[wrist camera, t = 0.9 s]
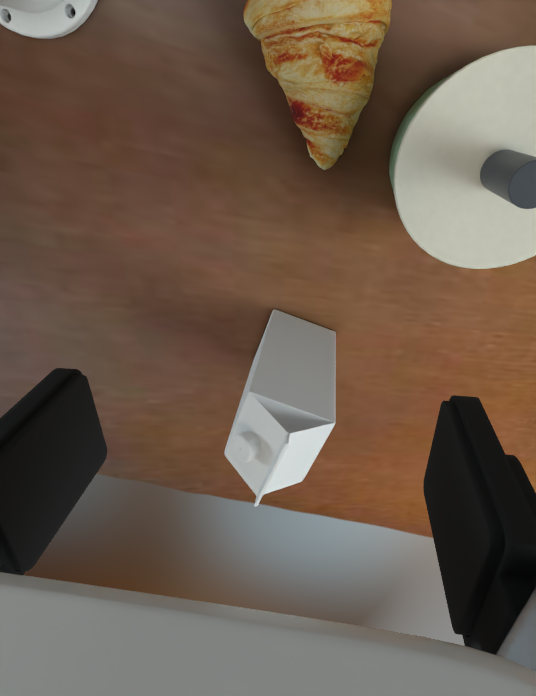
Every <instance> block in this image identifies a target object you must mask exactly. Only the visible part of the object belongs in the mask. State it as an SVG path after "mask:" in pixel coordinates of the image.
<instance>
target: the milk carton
mask: <svg viewBox="0 0 536 696" xmlns="http://www.w3.org/2000/svg"><path fill="white" fill-rule="evenodd" d="M335 400H336V332H335V331H332V330H329V329H326V328H324V327H321V326H318V325H316V324H313V323H310V322H308V321H305V320H302V319H300V318H297V317H294V316H292V315H289V314H286V313H283V312H281V311H278V310H275V309H273V311H272V314H271V316H270V319H269V321H268V324H267V326H266V329H265V332H264V334H263V337H262V339H261V342H260V345H259V347H258V350H257V352H256V355H255V358H254V361H253V364H252V367H251V370H250V373H249V376H248V379H247V382H246V386H245V389H244V392H243V395H242V398H241V401H240V404H239V407H238V410H237V414H236V417H235V420H234V423H233V426H232V429H231V432H230V435H229V438H228V442H227V445H226V448H225V456H226V457H227V459H228V460H229V461H230V463H231V464H232V465H233V466H234V468H235V469H236V470H237V471H238V473H239V474H240V475H241V477H242V478H243V479H244V480H245V482H246V483H247V484H248V485H249V487H250V488H251V489H252V491H253V492H254V493H255V494H256V501H255V505H254V506H255V507H257V506H258V504H259V502H260V500H261V498H262V496H263V495H264V494H267V493H270V492H272V491H275V490H278V489H281V488H284V487H287V486H290V485H293V484H296V483H299V482H302V481H303V479H304V478H305V476H306V474H307V472H308V471H309V469H310V467H311V465H312V464H313V462H314V460H315V458H316V457H317V455H318V453H319V451H320V450H321V448H322V446H323V444H324V443H325V441H326V439H327V437H328V436H329V434H330V432H331V430H332V429H333V427H334V425H335V423H336V422H335Z"/></svg>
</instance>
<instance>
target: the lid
mask: <svg viewBox="0 0 536 696" xmlns="http://www.w3.org/2000/svg"><path fill="white" fill-rule="evenodd" d="M394 196H395V202H396V207H397V210H398V213H399V216H400V218H401V220H402V222H403V225H404V227H405V229H406V230H407V232H408V233H409V234H410V236H411V237H412V239H413V240H414V241H415V242H416V243H417V244H418V245H419V246H420V247H421V248H422V249H423V250H424V251H426V252H427V253H428V254H430V255H431V256H433V257H435V258H437V259H438V260H440V261H443V262H445V263H448V264H451V265H455V266H459V267H464V268H472V269H488V268H496V267H502V266H506V265H511V264H514V263H517V262H520V261H523V260H526V259H528V258H530V257H533V256H535V255H536V45H532V46H519V47H514V48H509V49H505V50H501V51H498V52H495V53H492V54H489V55H487V56H484V57H481V58H479V59H478V60H476V61H474V62H472V63H470V64H468V65H466V66H465V67H463V68H462V69H460V70H458V71H457V72H455V73H454V74H453V75H451V76H450V77H449V78H448V79H447V80H445V81H444V82H443V83H442V84H441V85H439V86H438V87H437V89H436V90H435V91H434V92H433V93H432V94H431V95H430V96H429V97H428V98H427V99H426V101H425V102H424V103H423V104H422V106H421V107H420V108H419V110H418V111H417V113H416V114H415V116H414V117H413V119H412V121H411V122H410V124H409V126H408V128H407V130H406V132H405V134H404V137H403V139H402V142H401V145H400V148H399V151H398V154H397V159H396V163H395V170H394Z"/></svg>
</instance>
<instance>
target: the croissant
mask: <svg viewBox="0 0 536 696" xmlns="http://www.w3.org/2000/svg"><path fill="white" fill-rule="evenodd" d="M391 7H392V2H391V0H247V2H246V5H245V7H244V10H243V15H244V22H245V24H246V25H247V27H248V28H249V31H250V32H251V33H252V35H253V36H254V37H255V38H256V39H258V40H259V41H261V46H262V53H263V54H264V59H265V63H266V67H267V70H268V71H270V72H271V74H272V75H273V77H275V78H277V80H278V81H279V84H280V86H281V87H282V88H283V90H284V92H285V94H286V98H287V101H288V104H289V107H290V110H291V115H292V118H293V120H294V122H295V123H296V125H297V126H298V127H299V128H300V129H301V131H302V134H303V136H304V137H305V138H307V147H308V151H309V154H310V157H311V158H313V159H314V160H315V162H316V163H317V165H318V166H319V167H320V168H321V169H323V170H325V169H328V168H330V167H331V166H333V165H334V164H335V162H336V161H337V160H338V158H339V156H340V155H341V154H342V153H343V151H344V148H346V147H347V145H348V142H349V139H350V136H351V134H352V131H353V128H354V126H355V124H356V123H357V121H358V119H359V114H360V113H361V111H362V109H363V107H364V106H365V105H366V104H367V102H368V100H369V97H370V94H371V91H372V87H373V82H374V77H375V76H374V71H375V65H376V63H377V60H378V50H379V48H380V45H381V43H382V42H383V40H384V36H385V34H386V33H387V31H388V28H389V24H390V10H391Z"/></svg>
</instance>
